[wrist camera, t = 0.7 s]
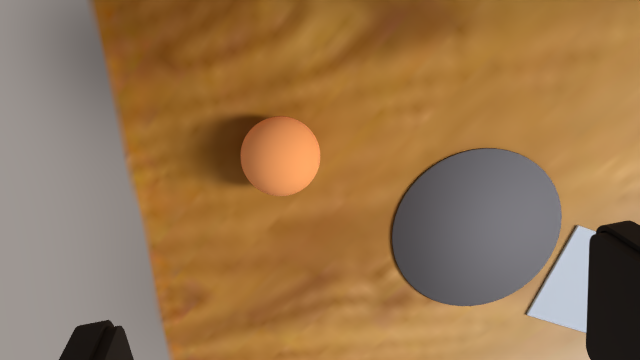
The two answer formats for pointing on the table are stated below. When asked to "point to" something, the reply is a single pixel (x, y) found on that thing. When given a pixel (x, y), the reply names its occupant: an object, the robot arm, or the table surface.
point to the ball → (280, 156)
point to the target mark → (476, 227)
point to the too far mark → (566, 285)
